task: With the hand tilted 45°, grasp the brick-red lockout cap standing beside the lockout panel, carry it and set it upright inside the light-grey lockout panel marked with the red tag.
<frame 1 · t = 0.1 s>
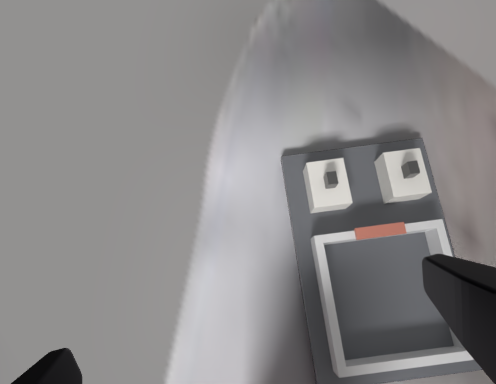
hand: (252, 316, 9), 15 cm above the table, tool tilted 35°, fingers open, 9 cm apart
lockout panel: (379, 293, 23), on the table
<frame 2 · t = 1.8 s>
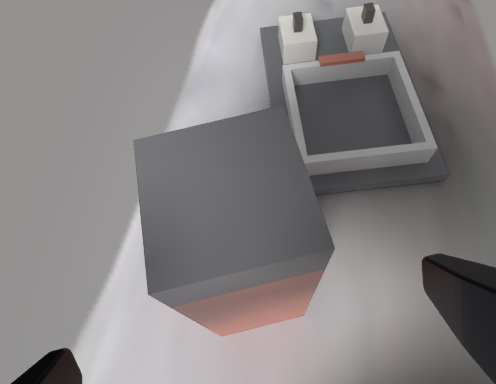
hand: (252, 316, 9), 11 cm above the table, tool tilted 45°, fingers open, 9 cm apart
lockout panel: (346, 126, 25), on the table
lockout cap: (252, 284, 20), on the table
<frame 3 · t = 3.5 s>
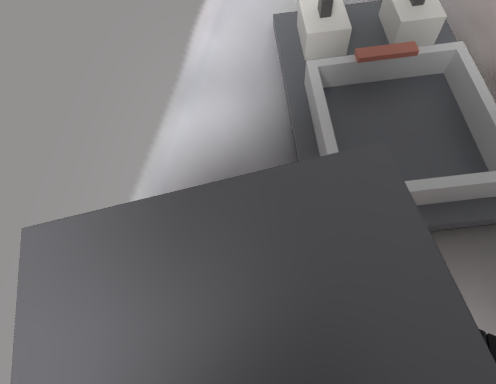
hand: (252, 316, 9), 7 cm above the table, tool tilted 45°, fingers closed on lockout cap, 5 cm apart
lockout panel: (392, 142, 18), on the table
lockout cap: (271, 374, 14), on the table, touching gripper
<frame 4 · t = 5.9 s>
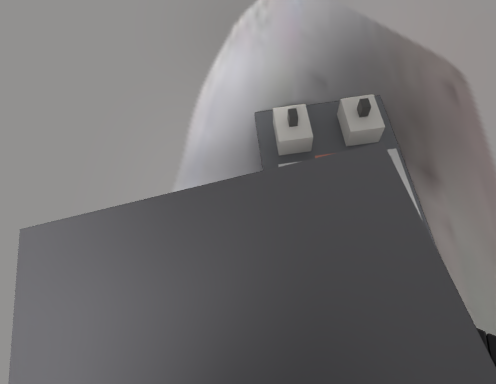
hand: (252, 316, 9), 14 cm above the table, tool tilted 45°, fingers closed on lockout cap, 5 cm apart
lockout panel: (345, 224, 24), on the table
lockout cap: (270, 374, 14), point 7 cm above the table, touching gripper
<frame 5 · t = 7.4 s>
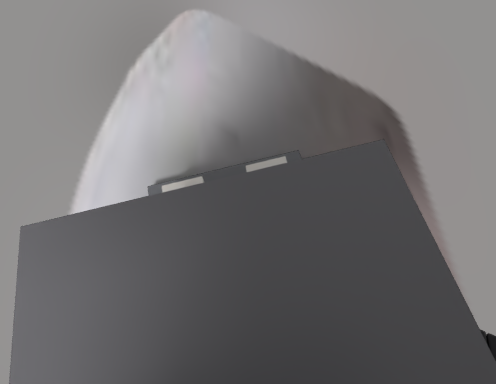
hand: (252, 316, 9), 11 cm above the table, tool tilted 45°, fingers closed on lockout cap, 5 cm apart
lockout panel: (262, 330, 19), on the table
lockout cap: (271, 373, 14), point 4 cm above the table, touching gripper
when the fingers open (9 cm above the table, at t = 8.4 s): lockout cap drops 1 cm, resting on lockout panel.
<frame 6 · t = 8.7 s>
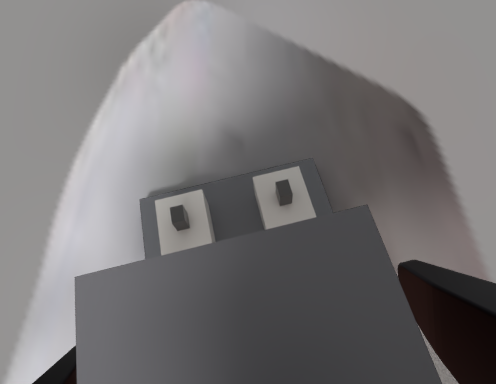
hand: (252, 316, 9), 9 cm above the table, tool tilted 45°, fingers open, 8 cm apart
lockout panel: (272, 373, 16), on the table
lockout cap: (270, 371, 15), point 1 cm above the table, touching lockout panel
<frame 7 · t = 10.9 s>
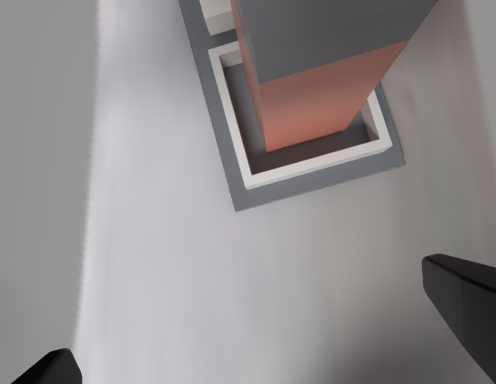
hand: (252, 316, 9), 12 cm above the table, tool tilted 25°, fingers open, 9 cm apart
lockout panel: (294, 110, 21), on the table
lockout cap: (294, 105, 21), point 1 cm above the table, touching lockout panel
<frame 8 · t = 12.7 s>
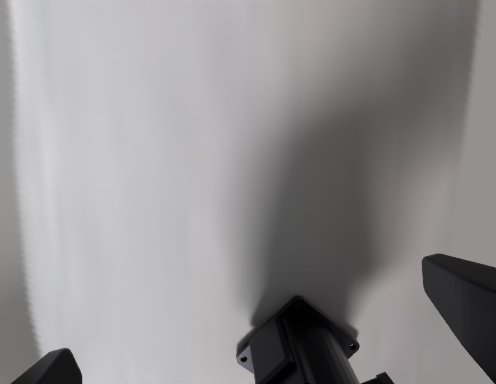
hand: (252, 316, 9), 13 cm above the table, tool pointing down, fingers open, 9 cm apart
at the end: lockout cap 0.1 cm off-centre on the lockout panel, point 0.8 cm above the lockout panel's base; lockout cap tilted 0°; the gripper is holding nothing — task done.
